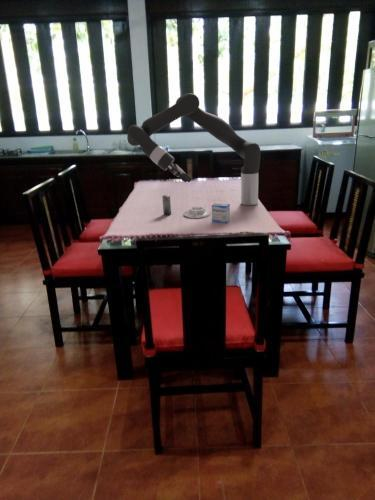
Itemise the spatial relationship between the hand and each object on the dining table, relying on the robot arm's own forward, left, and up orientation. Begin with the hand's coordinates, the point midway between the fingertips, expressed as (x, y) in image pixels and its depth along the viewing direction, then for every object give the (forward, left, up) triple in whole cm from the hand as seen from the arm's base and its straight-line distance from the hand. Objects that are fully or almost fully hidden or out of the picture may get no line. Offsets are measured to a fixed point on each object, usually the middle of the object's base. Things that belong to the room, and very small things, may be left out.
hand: (188, 180), depth 181 cm
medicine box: (-4, +14, -22) cm, 26 cm away
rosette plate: (-17, +1, -21) cm, 28 cm away
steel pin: (-18, -15, -21) cm, 32 cm away
